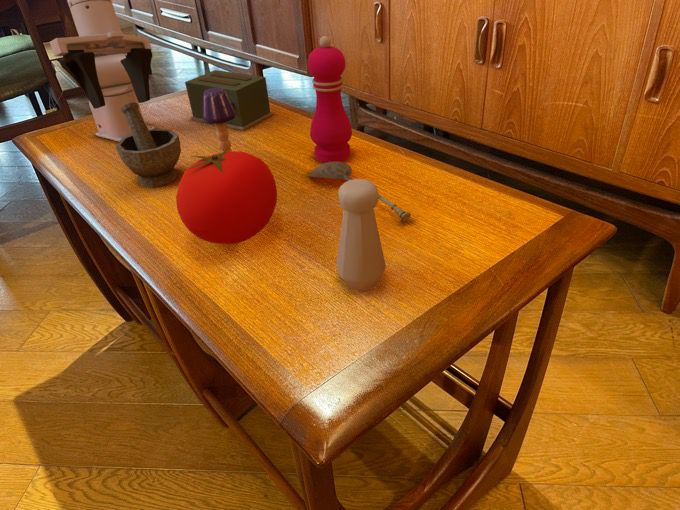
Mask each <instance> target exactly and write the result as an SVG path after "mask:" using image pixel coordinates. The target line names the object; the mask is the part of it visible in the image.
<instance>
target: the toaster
mask: <svg viewBox="0 0 680 510" xmlns="http://www.w3.org/2000/svg"><path fill="white" fill-rule="evenodd" d="M184 84H185V88H186V93H187V96H188V101H189V106H190V110H191V115H192V116H191V120H192V121H195V122H196V121H197V122H201V123H206V122H204V120H203V93H204V91H205V90H207V89H210V88H223V89H224V90H225V91H226V93H227V95H228V97H229V100H230V102H231V104H232V106H233V108H234V110H235V113H236V116H235V118H234V119H232V120H230V121H228V122H226V123H227V128H229V129H234V130H238V131H245V130H247V129H250V127H253V126H254V125H257V124H258V123H260V122H262V121H264V120H265V119H267V118H270V117H271V116H273V112H272V111H271V107H270V101H269V99H270V98H269V91H268V84H267V78H266V76H262V75H261V76H260V75H254V74H253V75H252V74H246V73H239V72H233V71H226V70H219V69H214V70H211V71H209V72H207V73H204V74H201V75H199V76H197V77H194V78H192V79H189V80H187V81H185V82H184Z"/></svg>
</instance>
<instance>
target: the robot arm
mask: <svg viewBox="0 0 680 510" xmlns="http://www.w3.org/2000/svg"><path fill="white" fill-rule="evenodd" d="M66 2H67V5H68V8H69V10H70V13H71V16H72V20H73V22H74V25H75V28H76V32H77V35H78V36H71V37H55V38H54V39H52V40H51V41H49V44H50V45H49V46H50V48H51V50H52V53H53V57H55V58H57V57H61V58H59V60H58V61H59V63H60V66H61V68H62V69H63V70H64V71H65V72H66V73H67V74H68V75H69V76H70V77H71V78H72V79H73V81H75V82H76V84H77V85H78V86H79V87H80V89H81V90H82V91H83V93H84V95H85V96H86V98H87V99H88V105H89V107H90V111H91V114H92V117H93V119H94V122H95V126H96V128H97V132H95V133H94V134H95V136H96V137H99V138H103V139H107V140H110V141H115V142H117V143H118V142H119V141H120V140H121V139H122V138H124V137H126V136H129V135H131V134H132V133H131V130H130V127H129V124H128V122H127V119H126V116H125V114H124V113H123V112H122V111H121V107H122V106H123V105H125V104H127V103H131V102H135V103H137V104H138V106H139V109H138V110H139V112H140V114H141V116H142V118H143V120H144V116H143V112H142V110H141V107H140V104H142V103H146V102H149V101H151V94H150V93H151V92H150V72H151V71H150V70H151V63H152V59H153V52H152V50H153V49H152V44H151V42H150V40H149V37H148V36H136V35H130V34H124V32H123V31H122V29H121V27H120V23H119V20H118V17H117V14H116V11H115V7H114V3H113V1H112V0H66ZM144 121H145V120H144ZM146 126H147V128H148V130H151V129H156V127H155V126H152V125H148V124H146Z"/></svg>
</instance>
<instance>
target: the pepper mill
mask: <svg viewBox="0 0 680 510" xmlns="http://www.w3.org/2000/svg"><path fill="white" fill-rule="evenodd" d="M331 43H332V41H331V38H330V37H329V36H327V35H323V36H321V37H320V38H319V46H318V47H316V48H314V49H313V50H312V51H311V52H310V54H309V55H308V58H307V69H308V73H310V75H311V76H312V77H313V78H312V80H311V83H312V89H313V90H314V91H315V96H316V101H315V102H316V105H315V111H314V114H313V116H312V120H311V123H310V129H309V132H310V133H309V136H310V139H311V141H312V142H313V143H314V144H315V146H314V149H313V150H314V157H315V160H317V162H320V163H322V164H324V163H327V162H334V161H337V162H345V161H347V160H348V159H350V157H351V145H350V143H349V141H350V140H351V139H352V136H353V128H352V124H351V120H350V118H349V116H348V114H347V111H346V109H345V107H344V103H343V100H342V89H343V87H344V83H343V81H344V77H343V76H342V75H343V73H344V72H345V70H346V58H345V55H344V53H343V52H342V51H341V50H340V49H339V48H338V47H335V46H332V45H331Z"/></svg>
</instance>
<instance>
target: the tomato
mask: <svg viewBox="0 0 680 510" xmlns="http://www.w3.org/2000/svg"><path fill="white" fill-rule="evenodd" d="M227 150H228V149H227ZM227 150H225V151H224V152H222V153H221V152H218V153H214V154H210V155H208V156H201V155H191V157H193V158H199V159H198V160H197V161H195V162H194V163H193V164H191V165H190V166H188V167H187V168H186V169H185V170H184V172H183V175H182V177H181V179H180V180H179V183H178V186H177V191H176V197H175V200H176V210H177V212H178V215H179V218H180V220H181V222H182V224H183V225H184V226H185V228H186V229H187V230H188V231H189V232H190V233H191V234H193V235H194V236H195V237H197V238H198V239H201V240H203V241H205V242H207V243H208V242H209V243H212V244H218V245H235V244H240V243H244V242H245V241H248V240H250V239H252V238H254V237H255V236H256V235H258V234H259V233H260V232H261V231H262V230H263V229H264V228H265V227H266V226H267V225H268V223H270V220H271V219H272V217H273V215H274V212H275V210H276V206H277V201H278V188H277V183H276V179H275V177H274V174H273V173H272V171H271V169H270V168H269V166H268V165H267V164H266V163H265V162H264V161H263V160H262V159H261V158H260V157H258V156H255V155H253V154H251V153H248V152H245V151H238V150H237V151H236V150H232V151H229V152H226V151H227Z"/></svg>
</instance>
